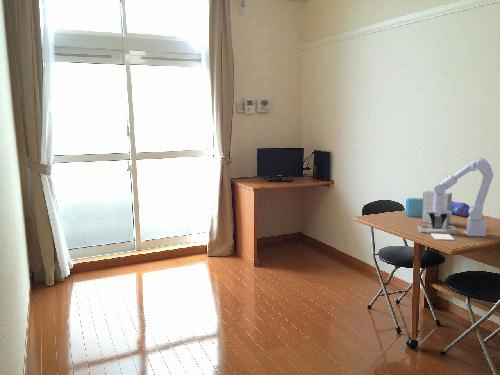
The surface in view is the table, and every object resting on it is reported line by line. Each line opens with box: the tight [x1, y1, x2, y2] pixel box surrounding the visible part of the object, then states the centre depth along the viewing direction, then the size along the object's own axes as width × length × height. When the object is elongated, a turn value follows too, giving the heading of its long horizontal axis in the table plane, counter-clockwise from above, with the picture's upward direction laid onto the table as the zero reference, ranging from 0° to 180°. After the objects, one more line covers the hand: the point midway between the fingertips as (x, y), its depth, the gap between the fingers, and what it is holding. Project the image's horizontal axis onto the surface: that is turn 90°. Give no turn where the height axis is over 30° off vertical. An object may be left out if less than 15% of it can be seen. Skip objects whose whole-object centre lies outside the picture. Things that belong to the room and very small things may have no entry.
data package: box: [405, 197, 423, 218], centre depth 280 cm, size 12×4×12 cm, turn 90°
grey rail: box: [417, 224, 458, 235], centre depth 245 cm, size 20×8×3 cm, turn 80°
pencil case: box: [451, 200, 471, 218], centre depth 284 cm, size 22×9×10 cm, turn 24°
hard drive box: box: [421, 190, 453, 226], centre depth 261 cm, size 16×8×20 cm, turn 47°
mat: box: [430, 233, 455, 241], centre depth 233 cm, size 10×10×1 cm
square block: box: [433, 216, 442, 228], centre depth 244 cm, size 4×4×9 cm
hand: (437, 226), depth 245 cm, fingers closed on square block, 4 cm apart
